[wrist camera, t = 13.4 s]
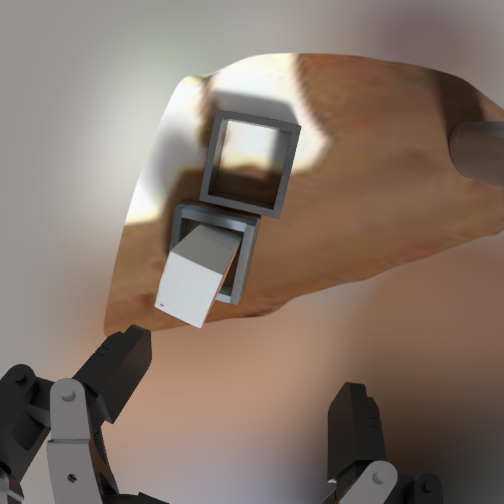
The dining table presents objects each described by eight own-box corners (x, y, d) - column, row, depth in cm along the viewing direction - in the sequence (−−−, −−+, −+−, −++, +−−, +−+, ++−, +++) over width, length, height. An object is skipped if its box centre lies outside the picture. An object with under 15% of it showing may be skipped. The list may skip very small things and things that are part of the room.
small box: (225, 280, 43) (200, 330, 31) (188, 263, 42) (152, 307, 30) (244, 235, 40) (224, 275, 28) (204, 218, 39) (168, 249, 27)
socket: (300, 128, 34) (301, 126, 31) (280, 213, 39) (279, 219, 36) (222, 112, 35) (216, 109, 31) (206, 196, 39) (199, 200, 36)
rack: (261, 217, 39) (257, 224, 36) (243, 293, 44) (239, 306, 41) (183, 199, 40) (172, 205, 36) (174, 274, 45) (165, 286, 41)
